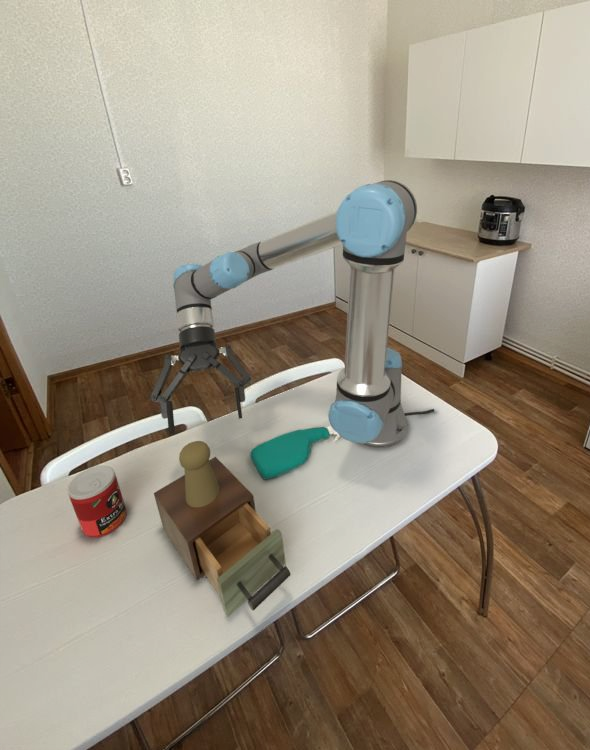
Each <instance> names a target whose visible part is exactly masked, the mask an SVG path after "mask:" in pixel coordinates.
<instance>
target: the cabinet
mask: <svg viewBox="0 0 590 750" xmlns="http://www.w3.org/2000/svg"><path fill="white" fill-rule="evenodd" d="M209 461H210V464H211V466H212V469H213V472H214V474H215V477H216V479H217V482H218V484H219V487H220V492H219V494H218V496H217V497H216V499H215V500H214V501H212V502H211V503H210V504H208V505H206V506H202V507H191V506H189V505H188V504H187V502H186V491H185V474H183V475H181V476H180V477H178V478H177V479H175V480H173V481H172V482H170V483H168V484H167V485H165V486H163V487H162V488H160V489H158V490H156V491H155V492H154V493H153V496H154V500H155V504H156V507H157V510H158V514H159V518H160V522H161V526H162V529H163V531H164V532H165V534H166V535H167V537H168V539H169V541H170V542H171V543H172V545H173V546H174V548H175V550H176V551H177V553H178V554H179V555H180V558H182V560H183V562H184V563H185V565H186V566H187V568H188V569H189V571H190V573H191V574H192V576H193V577H194V579H195V581H198V580H200V579H201V578H202V577H204V576H206V574H205V573H204V572H203V570H202V569H201V567H200V566H199V564H198V562H197V558H196V554H195V550H194V546H193V541H195V540H196V539H198V538H199V537H200V536H202V535H203V534H205V533H206V532H207V531H209V530H210V529H211V528H213V527H214V526H216V525H217V524H218V523H220V522H221V521H222V520H224V519H225V518H227V517H228V516H229V515H231V514H232V513H234V512H235V511H236V510H238V509H239V508H240V507H242V506H243V505H245V504H246V503H248V504H249V506H250V507H251V508H252V509H253V510H254V511H255V512H256V513H257V511H256V504H255V497H254V494H253V493H252V492H251V491H250V490H249V489H248V488H247V487H246V485H244V484H243V482H241V481H240V480H239V479H238V477H236V476H235V475H234V473H233V472H232V471H230V469H228V468H227V467H226V466H225V464H224V463H223V462H222V461H221V460H220V459H219V458H218V457H217V456H214V457H212V458H209Z"/></svg>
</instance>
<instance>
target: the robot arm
mask: <svg viewBox="0 0 590 750" xmlns="http://www.w3.org/2000/svg"><path fill="white" fill-rule="evenodd" d="M415 197H416V196H415V195H414V193H413V192H412V190H411V189H410V188H409V187H408V186H407V185H405V184H404V183H401V182H399V181H396V180H380V181H377V182H374V183H366V184H363V185H360V186H358V187H356V188H355V189H353V190H352V191H351V192H350V193H349V194H347V195H346V196H345V197H344V198H343V199H342V201H341V202H340V204H339V206H338V208H337V210H335V211H332V212H330V213H328V214H325V215H322V216H320V217H317V218H315V219H312V220H310V221H307V222H305V223H302V224H299V225H297V226H295V227H292V228H290V229H288V230H285V231H282V232H280V233H278V234H275V235H273V236H271V237H267V238H265V239H263V240H261V241H258V242H255V243H252V244H250V245H248V246H246V247H243V248H240V249H238V250H236V251H228V252H225V253H223V254H221V255H218V256H216V257H215V258H214V259H212V260H210V261H209V262H208V263H206V264H204V265H202V264H198V263H186V264H184V265H180V266H178V267H176V268H175V270H174V271H173V284H172V285H173V291H174V300H175V301H174V302H175V307H176V308H175V309H176V320H177V330H178V332H179V333H178V341H179V343H178V344H179V354H175V355H174V354H173V355H171V354H169V353H167V354H165V355H164V360H163V362H164V363H163V366H162V368H161V372H160V373H159V375H158V378H157V381H156V382H155V385H154V386H153V390H152V392H151V395H150V396H149V400H150V401H152V402H154V403H159V404H160V411H161V412H160V414H161V418H162V419H164V420H165V419H167V430H168V435H174V434H176V429H175V418H174V417H175V416H174V409H173V408H174V405H173V401H171V398H172V396H173V395H174V394H175V392H176V390H177V389H178V388H179V387H180V385H181V384H182V383H183V381H184V380H185V378H186V377H187V376H188V375H189V373H190V372H191V373H192V372H193V373H198V372H201V371H208V370H210V369H212V368H213V369H214V370H216V371H217V372H219V373H220V374H221V375H222V376H224V377H225V378H226V379H227V380H229V381H230V382H231V383H232V384H234V385H235V386H236V387H234V393H235V400H236V401H235V402H236V409H237V415H238V419H239V420H240V419H243V412H242V406H241V403H245V402H246V394H245V386H247V385H248V384H250V383H251V382H252V377H251V376H250V374H249V373H248V372H247V371H246V369H245V368H244V366H243V365H242V364H241V363H240V361H239V359H238V358H237V357H236V355H234V352H233V349H232V346H231V345H230V344H226V345H225V346H223V347H220V348H218V346H217V341H216V340H217V339H216V332H215V329H214V326H215V325H214V318H213V317H214V315H213V308H212V300H213V299H215V298H217V297H218V296H221V295H222V294H225V293H226V292H229V291H231V290H233V289H236V288H237V287H239V286H241V285H242V284H244V283H246V282H247V281H250V280H251V279H253V278H255V277H257V276H259V275H261V274H264V273H267V272H269V271H272V270H275V269H278V268H280V267H283V266H286V265H289V264H292V263H294V262H297V261H300V260H303V259H305V258H309V257H311V256H314V255H317V254H319V253H322V252H325V251H329V250H331V249H334V248H336V247H337V248H338V247H340V246H342V258H343V259H344V261H345V262H346V263H347V264H348V265H349V278H348V279H349V281H348V299H347V315H346V317H347V318H346V335H345V337H346V338H345V352H344V353H345V354H344V355H345V356H344V367H343V369H340V371H339V372H338V374H337V376H336V389H335V391H336V392H335V394H336V395H335V399H334V402H332V404H331V405H330V407H329V411H328V417H327V418H328V422H329V425H330V424H331V426H332V428H333V429H334V430H335V431H336V432H337V433H338V434H339V435H340V437H341V438H343V439H345V440H346V441H349V442H351V443H355V444H363V445H365V446H367V447H372V448H387V447H391V446H394V445H396V444H398V443H399V442H401V441H402V440H403V439H404V438H405V436H406V434H407V432H408V421H407V418H406V417H409V416H420V415H427V414H431V413H435V409H434V408H432V409H428V410H423V411H411V412H404V409H403V406H402V404H401V403H402V402H401V401H402V373H403V372H402V370H403V369H402V368H403V362H402V356H401V354H400V353H399V352H398V351H397V350H395V349H393V348H389V347H388V341H389V330H390V321H391V311H392V299H393V290H394V280H395V271H396V269H397V267H399V266H400V265H402V264H403V263H404V262H405V261H404V260H405V252H406V244H407V236H408V235H407V234H408V232H409V231H410V230H411V228H412V227H413V225H414V224H415V222H416V219H417V215H418V204H417V200H416V198H415ZM221 354H222V355H223V357H227V358H228V360H229V362H230V363H231V365H232V366H233V368H234V369H235V370H236V371H237V372H238V374H239V375H240V377H241V378H242V379H240V378H239V377H237V376H236V375H235V374H234V373H232V372H231V371H230V369H229V370H228V368H226V367H225V366H223V364H221V362H220V361H218V360H217V359H218V358H219V356H220V355H221ZM177 362H180V363H181V364H182V366H181V367H180V368H179V371H178V373H177V374H176V375H175V377H174V378H173V379H172V381H171V383H170V384H169V385H168V386H167V388H166V389H165V390H164V388H165V385H166V383H167V381H168V378H169V376H170V374H171V372H172V369H173V366H175V365H176V363H177ZM163 391H164V392H163Z"/></svg>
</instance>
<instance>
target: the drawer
mask: <svg viewBox="0 0 590 750" xmlns="http://www.w3.org/2000/svg"><path fill="white" fill-rule="evenodd" d="M193 546H194V550H195V554H196V558H197V562H198V564H199V566H200V567H201V569H202V570H203V572H204V573H205V576H206V577H207V580H209V582H210V583H211V585H212V586H213V588H214V589H215V591H216V592H217V593H218V596H219V597H220V600H221V606H222V611H223V613H224V614H225V616H226V617H229V616H230V615H232V614H233V612H235V611H236V610H237V609H238V608H239V607H240V606H241V605H243V603H244V602H246V601H247V604H248V607H249V609H250V610H251V611H253V612H254V611H255V610H256V609H258V607H259V606H260V605H261V604H263V603H264V601H266V599H268V597H270V596H271V595H272V594H273V593H274V592H275V591H276V590H277V589H278V588H279V587H280V586H281V585H282V584H283V583H284V582H285V581H286V580H287V579H289V578H290V577H291V575H292V574H291V571H290V570H289V569H290V568H288V567H287V566H286V559H285V557H286V556H285V549H284V542H283V533H282V531H281V530H280V529H279V528H276V529H275V530H274V531H272V533H271V527H270V525H269V524H267V522H266V521H265V520H264V519H263V518H262V517H261V516H260V515H259V514H258V513H257V511H256V512H255V511H254V510H253V509H252V508H251V507H250V506H249V504H248V503H246V504H245V505H243V506H242V507H240V508H239V509H238V510H236V511H235V512H234V513H232V514H231V515H229V516H228V517H227V518H225V519H224V520H222V521H221V522H220V523H218V524H217V525H216V526H214V527H213V528H211V529H210V530H209V531H207V532H206V533H205V534H203V535H202V536H200V537H199V538H198V539H196V540H195V541H193ZM284 565H285V566H284Z"/></svg>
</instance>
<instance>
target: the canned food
mask: <svg viewBox="0 0 590 750" xmlns="http://www.w3.org/2000/svg"><path fill="white" fill-rule="evenodd" d="M67 494H68V497H69V500H70V503H71V505H72V509H73V510H74V512H75V516H76V519H77V522H78V523H79V526H80V529H81V531H82V533H83V534H84V535H85V536H86V537H88V538H92V539H93V538H94V539H95V538H101V537H105V536H107V535H109V534H111V533H112V532H114V531H115V530H117V529H118V528H119V527H120V526H121V524H122V523H123V522H124V521H125V518H126V512H127V507H126V504H125V501H124V498H123V495H122V491H121V488H120V483H119V481H118V478H117V475H116V472H115V470H114V469H113V467H111V466H109V465H96V466H92V467H90V468H87V469H85V470H83V471H81V472H80V473H78V474H77V475H76V476H75V477H73V478H72V479H71V481H70V482H69V484H68V486H67Z"/></svg>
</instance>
